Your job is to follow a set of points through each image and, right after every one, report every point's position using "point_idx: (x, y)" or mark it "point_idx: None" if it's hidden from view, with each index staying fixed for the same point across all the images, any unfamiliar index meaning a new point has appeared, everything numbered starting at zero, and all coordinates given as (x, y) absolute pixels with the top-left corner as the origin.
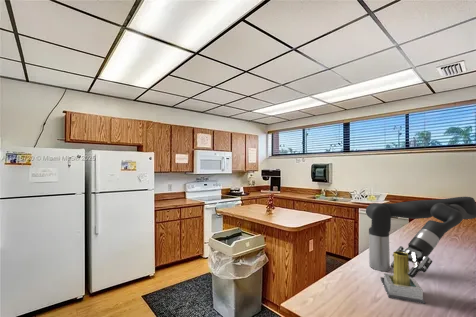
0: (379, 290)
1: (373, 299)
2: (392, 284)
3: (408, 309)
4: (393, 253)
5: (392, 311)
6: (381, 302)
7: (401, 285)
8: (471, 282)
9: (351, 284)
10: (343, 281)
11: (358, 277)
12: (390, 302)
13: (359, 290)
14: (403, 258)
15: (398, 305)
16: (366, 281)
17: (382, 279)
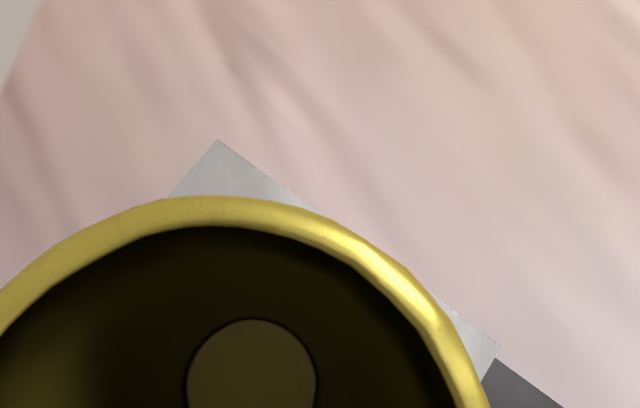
0: (357, 196)
1: (240, 20)
2: (207, 174)
3: (16, 165)
4: (410, 285)
5: (49, 16)
6: (182, 43)
7: None
8: None
9: (507, 38)
10: (569, 13)
11: (635, 208)
12: (156, 114)
13: (397, 24)
14: (16, 339)
15: (95, 138)
16: (544, 220)
17: (526, 393)
